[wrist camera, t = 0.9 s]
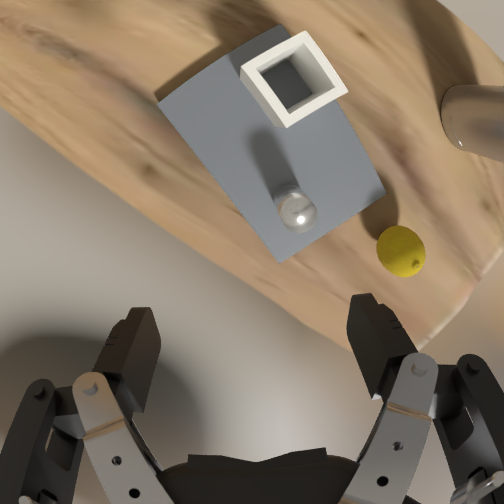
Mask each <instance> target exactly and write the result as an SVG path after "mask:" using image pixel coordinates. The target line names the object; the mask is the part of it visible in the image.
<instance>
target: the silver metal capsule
mask: <svg viewBox="0 0 504 504" xmlns="http://www.w3.org/2000/svg"><path fill="white" fill-rule="evenodd" d="M273 202H274V204H275V207H276V209H277V211H278V213H279V216H280V218H281V220H282V223H283V225H284V226H285V228H286V229H287V230H289V231H291V232H293V233H304V232H307V231H308V230H310V229H311V228H312V227H313V226H314V225H315V223H316V221H317V217H318V212H317V208H316V206H315V205H314V204H313V202H312V201H311V200H310V199H309V198H308V197H307V196H306V194H305V193H304V192H303V191H302V190H301V189H300V188H299V187H298V186H297V185H295V184H293V183H284V184H282V185H280V186H279V187H277V189H276V190H275V192H274V194H273Z"/></svg>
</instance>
